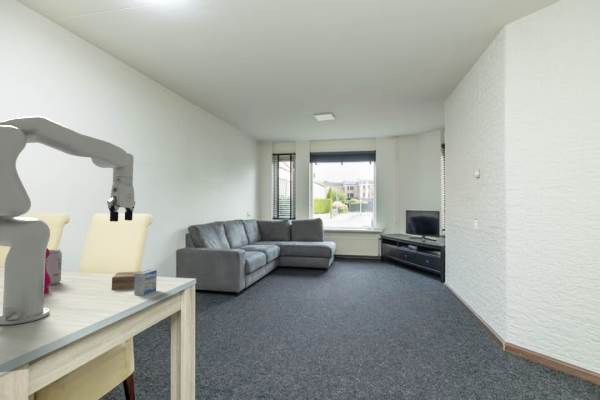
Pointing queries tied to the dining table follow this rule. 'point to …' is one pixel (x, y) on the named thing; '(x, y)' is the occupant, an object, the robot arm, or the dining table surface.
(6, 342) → the dining table surface
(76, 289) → the dining table surface
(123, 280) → the walnut plinth
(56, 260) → the grey upright box
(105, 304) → the dining table surface
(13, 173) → the robot arm
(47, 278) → the pepper mill
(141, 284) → the medicine box
